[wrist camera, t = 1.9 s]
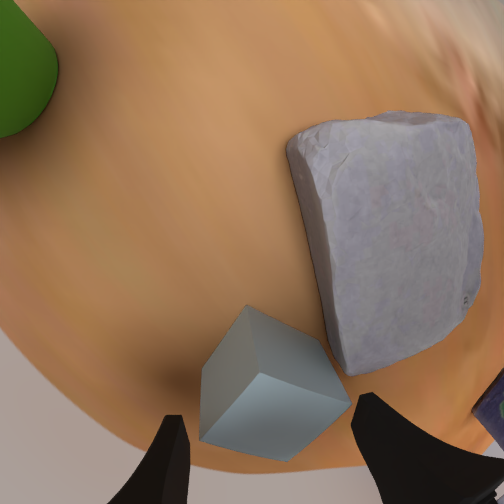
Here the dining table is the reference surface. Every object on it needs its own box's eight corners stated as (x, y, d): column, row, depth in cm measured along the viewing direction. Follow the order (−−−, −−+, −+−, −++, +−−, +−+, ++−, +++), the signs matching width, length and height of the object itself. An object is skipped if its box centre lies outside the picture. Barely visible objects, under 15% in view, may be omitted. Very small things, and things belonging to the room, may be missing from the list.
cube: (318, 339, 15) (352, 404, 10) (271, 394, 16) (287, 462, 11) (246, 304, 14) (259, 372, 9) (202, 367, 15) (199, 440, 10)
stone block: (414, 107, 14) (258, 137, 12) (481, 101, 9) (316, 120, 7) (433, 284, 18) (315, 356, 16) (485, 310, 13) (363, 409, 11)
